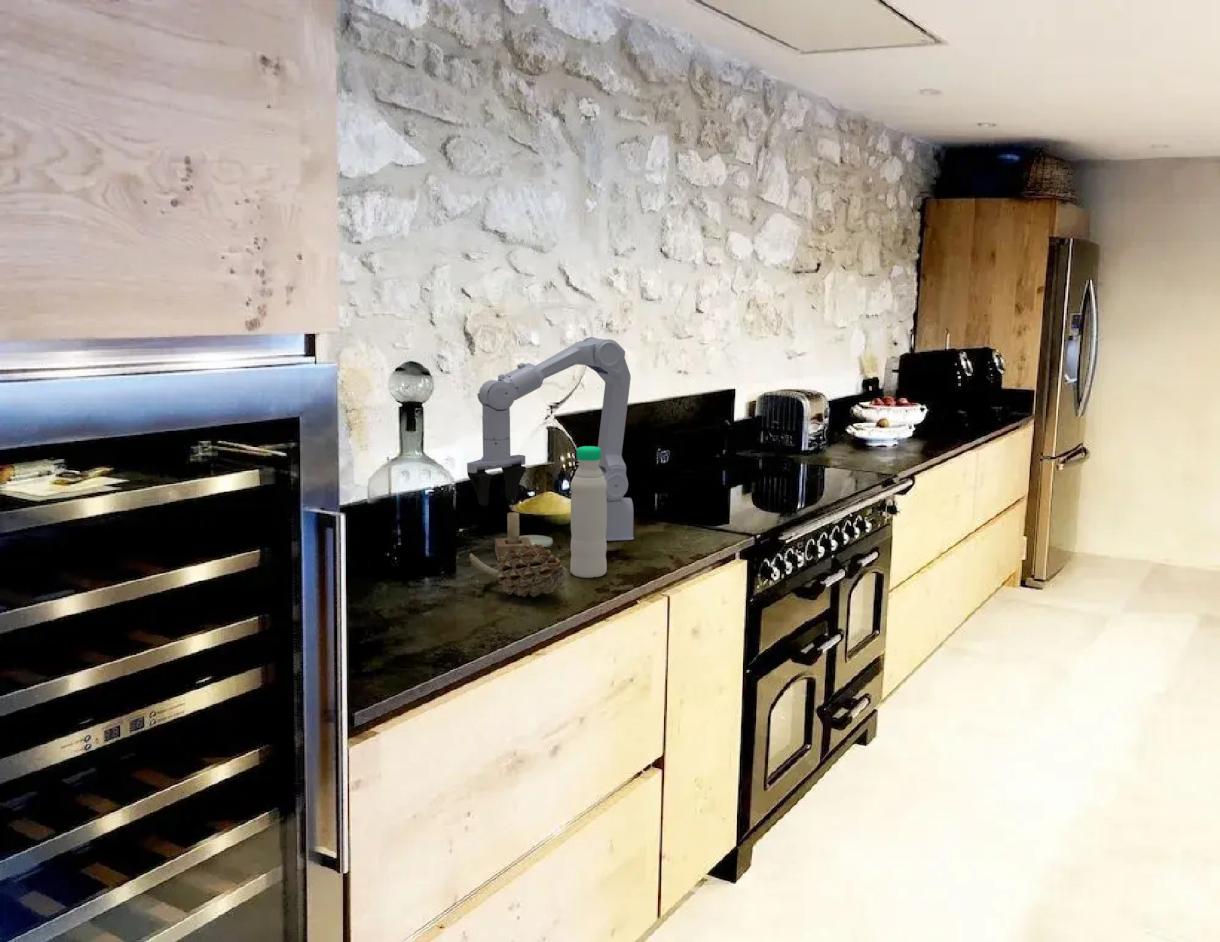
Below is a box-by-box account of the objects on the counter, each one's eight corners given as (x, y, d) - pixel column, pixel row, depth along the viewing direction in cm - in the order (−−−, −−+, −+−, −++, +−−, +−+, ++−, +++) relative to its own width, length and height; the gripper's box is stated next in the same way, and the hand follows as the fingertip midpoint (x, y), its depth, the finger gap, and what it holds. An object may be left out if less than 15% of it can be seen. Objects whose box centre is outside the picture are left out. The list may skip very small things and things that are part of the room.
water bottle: (602, 579, 208) (603, 450, 204) (566, 577, 209) (566, 449, 205) (609, 570, 215) (610, 445, 210) (575, 568, 216) (575, 443, 212)
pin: (518, 554, 226) (518, 512, 225) (519, 557, 224) (519, 514, 223) (507, 554, 226) (506, 512, 224) (508, 557, 224) (507, 515, 222)
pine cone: (577, 596, 197) (577, 543, 195) (549, 610, 189) (548, 554, 187) (479, 579, 208) (478, 528, 206) (447, 591, 200) (446, 538, 198)
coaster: (549, 537, 241) (549, 534, 241) (555, 547, 232) (555, 544, 232) (509, 539, 239) (509, 535, 239) (513, 549, 230) (513, 545, 230)
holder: (528, 551, 229) (528, 537, 229) (532, 559, 222) (532, 545, 222) (495, 552, 228) (495, 538, 227) (498, 561, 221) (497, 546, 220)
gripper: (509, 432, 234) (510, 494, 236) (457, 440, 224) (458, 504, 226) (531, 436, 229) (532, 499, 232) (479, 443, 219) (480, 509, 221)
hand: (497, 502), depth 229 cm, fingers open, 7 cm apart
